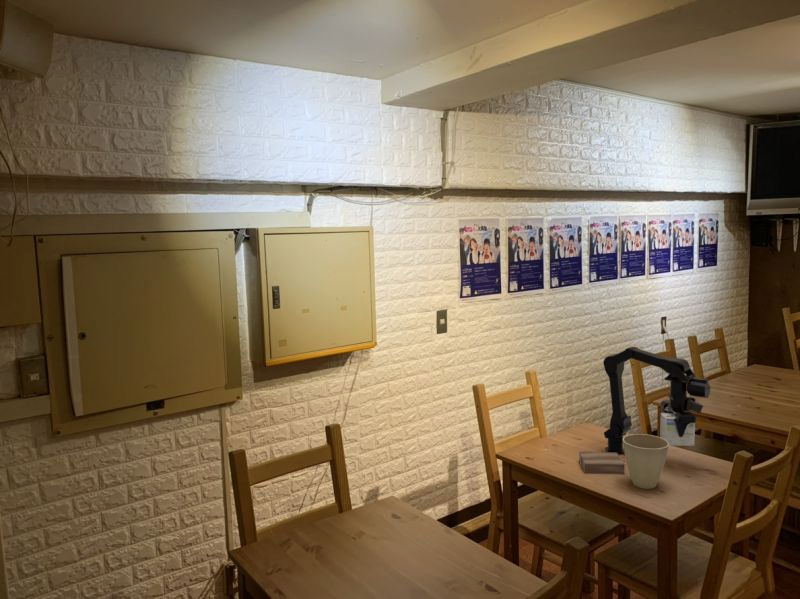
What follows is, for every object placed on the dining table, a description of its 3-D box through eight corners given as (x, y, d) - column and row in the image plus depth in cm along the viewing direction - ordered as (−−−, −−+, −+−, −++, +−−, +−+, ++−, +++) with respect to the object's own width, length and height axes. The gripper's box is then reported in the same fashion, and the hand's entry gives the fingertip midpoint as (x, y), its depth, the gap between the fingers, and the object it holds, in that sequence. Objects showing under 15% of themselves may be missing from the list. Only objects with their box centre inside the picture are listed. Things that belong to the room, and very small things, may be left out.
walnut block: (579, 461, 236) (579, 452, 235) (616, 462, 234) (616, 452, 234) (585, 474, 224) (585, 464, 224) (624, 475, 222) (624, 464, 222)
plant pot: (638, 496, 204) (639, 450, 202) (614, 478, 218) (614, 436, 217) (677, 490, 207) (678, 446, 205) (650, 474, 221) (651, 432, 220)
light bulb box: (688, 439, 229) (689, 412, 228) (695, 446, 223) (696, 418, 221) (659, 439, 230) (659, 412, 229) (665, 446, 224) (665, 417, 222)
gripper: (712, 400, 214) (710, 442, 216) (690, 386, 233) (688, 425, 235) (679, 400, 215) (678, 442, 217) (660, 386, 233) (659, 425, 235)
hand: (677, 433), depth 226 cm, fingers closed on light bulb box, 7 cm apart
